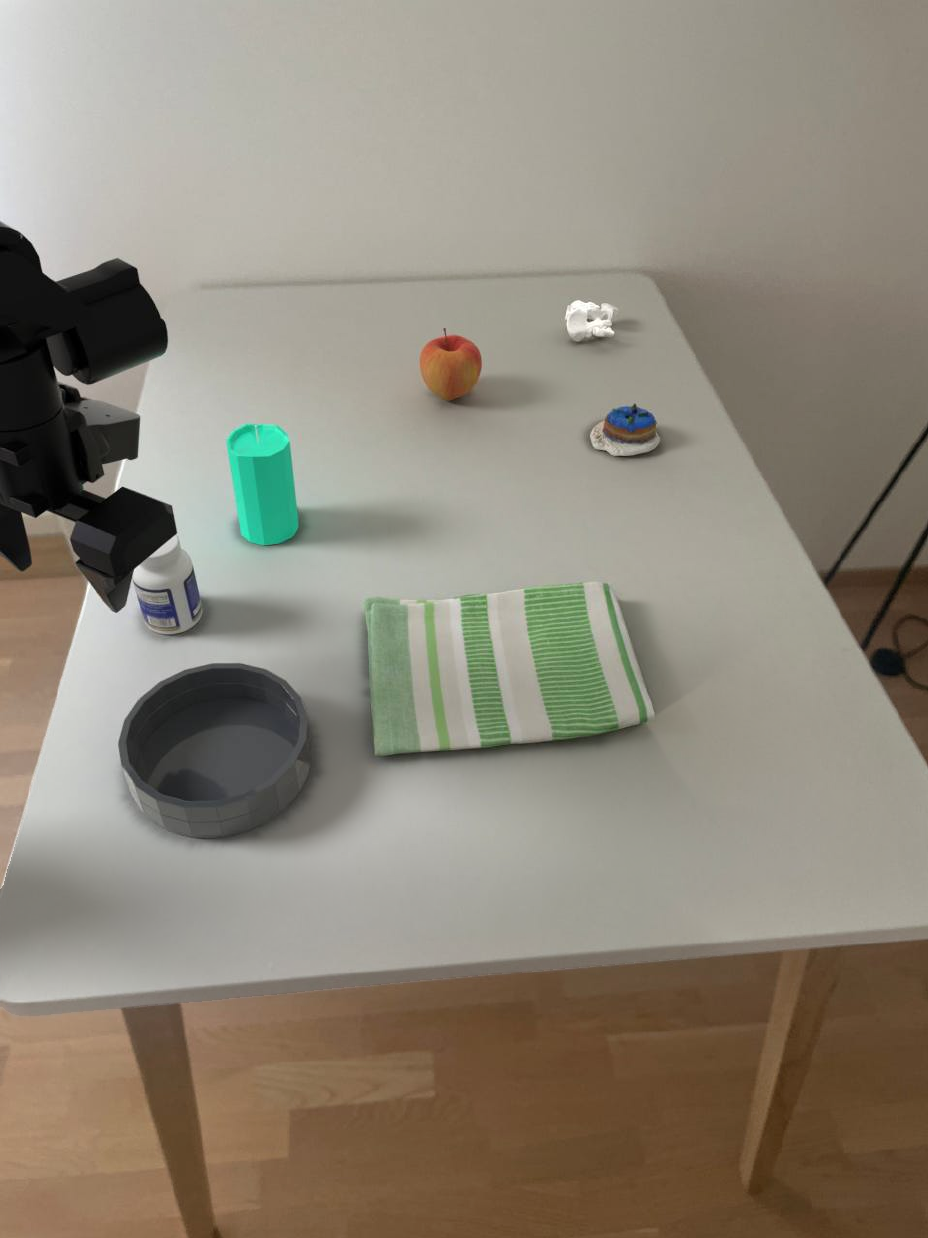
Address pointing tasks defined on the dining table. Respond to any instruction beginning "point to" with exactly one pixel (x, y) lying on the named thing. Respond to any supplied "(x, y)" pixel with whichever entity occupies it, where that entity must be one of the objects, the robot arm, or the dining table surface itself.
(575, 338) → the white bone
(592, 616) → the dish towel
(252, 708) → the pan
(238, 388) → the dining table surface
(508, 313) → the dining table surface
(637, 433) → the dessert
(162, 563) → the pill bottle
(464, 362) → the apple
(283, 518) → the candle
